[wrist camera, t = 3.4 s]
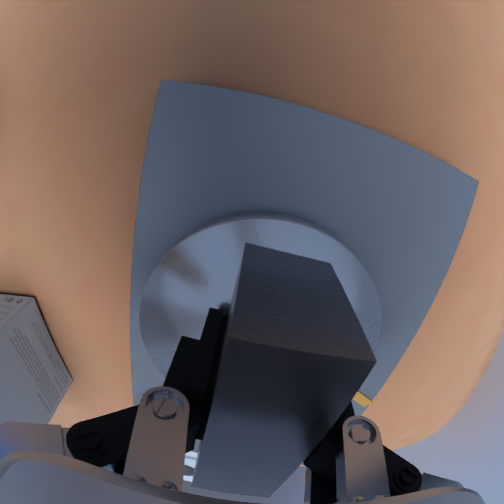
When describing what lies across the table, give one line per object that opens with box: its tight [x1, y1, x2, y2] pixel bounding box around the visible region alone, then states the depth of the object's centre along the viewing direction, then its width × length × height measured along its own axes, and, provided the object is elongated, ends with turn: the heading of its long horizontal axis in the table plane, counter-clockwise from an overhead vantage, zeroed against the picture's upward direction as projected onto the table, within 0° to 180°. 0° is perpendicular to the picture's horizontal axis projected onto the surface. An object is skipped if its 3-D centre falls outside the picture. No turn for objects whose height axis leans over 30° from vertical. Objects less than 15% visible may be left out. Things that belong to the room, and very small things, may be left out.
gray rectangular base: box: [130, 80, 479, 482], centre depth 13 cm, size 22×14×5 cm, turn 167°
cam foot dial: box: [139, 212, 382, 497], centre depth 10 cm, size 12×10×6 cm
